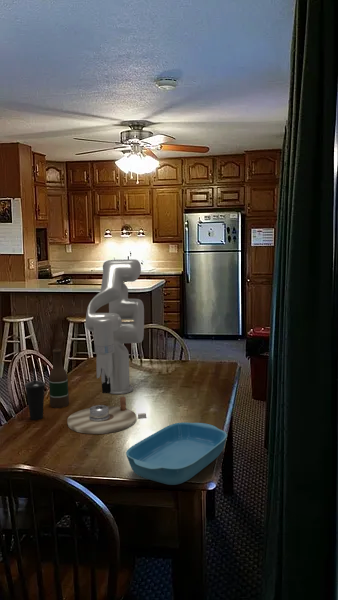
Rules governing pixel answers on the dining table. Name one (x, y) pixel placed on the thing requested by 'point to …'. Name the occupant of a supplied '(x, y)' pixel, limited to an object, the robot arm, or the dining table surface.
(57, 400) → the beer bottle
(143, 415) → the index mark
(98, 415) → the cover
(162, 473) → the casserole dish
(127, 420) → the turntable
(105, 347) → the robot arm
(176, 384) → the dining table surface
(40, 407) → the drinking cup
